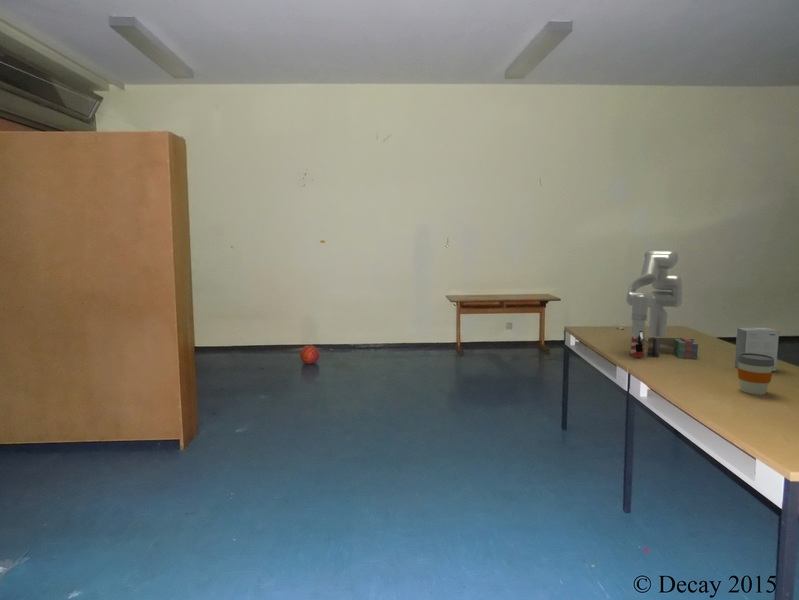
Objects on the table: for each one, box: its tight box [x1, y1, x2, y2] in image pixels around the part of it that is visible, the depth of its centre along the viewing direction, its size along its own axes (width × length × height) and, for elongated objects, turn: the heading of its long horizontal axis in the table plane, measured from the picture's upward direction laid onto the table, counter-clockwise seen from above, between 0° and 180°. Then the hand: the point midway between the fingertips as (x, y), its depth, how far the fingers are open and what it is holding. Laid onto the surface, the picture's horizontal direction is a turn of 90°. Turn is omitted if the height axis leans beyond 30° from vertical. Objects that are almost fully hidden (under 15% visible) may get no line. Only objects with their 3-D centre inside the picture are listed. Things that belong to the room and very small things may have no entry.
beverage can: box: [630, 336, 645, 358], centre depth 271 cm, size 6×6×12 cm
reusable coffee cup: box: [737, 353, 774, 396], centre depth 210 cm, size 13×13×15 cm
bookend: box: [643, 337, 660, 358], centre depth 275 cm, size 10×6×9 cm, turn 168°
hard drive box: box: [734, 327, 780, 372], centre depth 245 cm, size 16×8×20 cm, turn 84°
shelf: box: [646, 336, 699, 360], centre depth 274 cm, size 11×23×10 cm, turn 78°
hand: (637, 349), depth 272 cm, fingers open, 6 cm apart
